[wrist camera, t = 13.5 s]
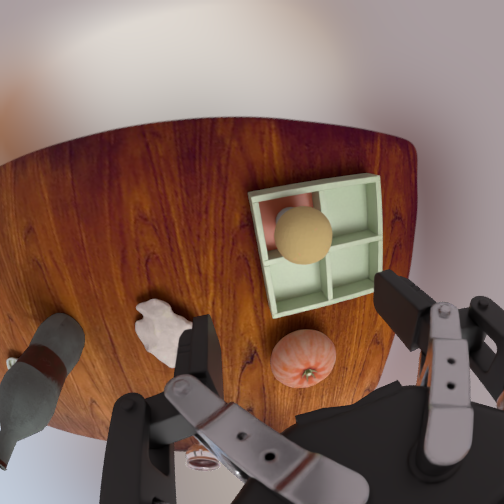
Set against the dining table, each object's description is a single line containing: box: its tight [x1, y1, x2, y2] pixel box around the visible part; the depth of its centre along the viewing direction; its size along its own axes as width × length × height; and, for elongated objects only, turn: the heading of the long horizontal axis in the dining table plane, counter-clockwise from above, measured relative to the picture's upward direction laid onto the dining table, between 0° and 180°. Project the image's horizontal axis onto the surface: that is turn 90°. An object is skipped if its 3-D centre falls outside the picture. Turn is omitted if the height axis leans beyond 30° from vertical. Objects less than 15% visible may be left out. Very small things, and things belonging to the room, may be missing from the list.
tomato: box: [270, 329, 336, 388], centre depth 42 cm, size 11×11×8 cm
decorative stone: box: [135, 299, 192, 368], centre depth 40 cm, size 11×4×15 cm
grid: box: [248, 173, 383, 319], centre depth 37 cm, size 17×17×4 cm
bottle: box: [0, 313, 85, 470], centre depth 26 cm, size 9×9×30 cm
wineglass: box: [186, 442, 220, 471], centre depth 45 cm, size 7×7×12 cm
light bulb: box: [274, 206, 332, 265], centre depth 32 cm, size 6×6×10 cm
